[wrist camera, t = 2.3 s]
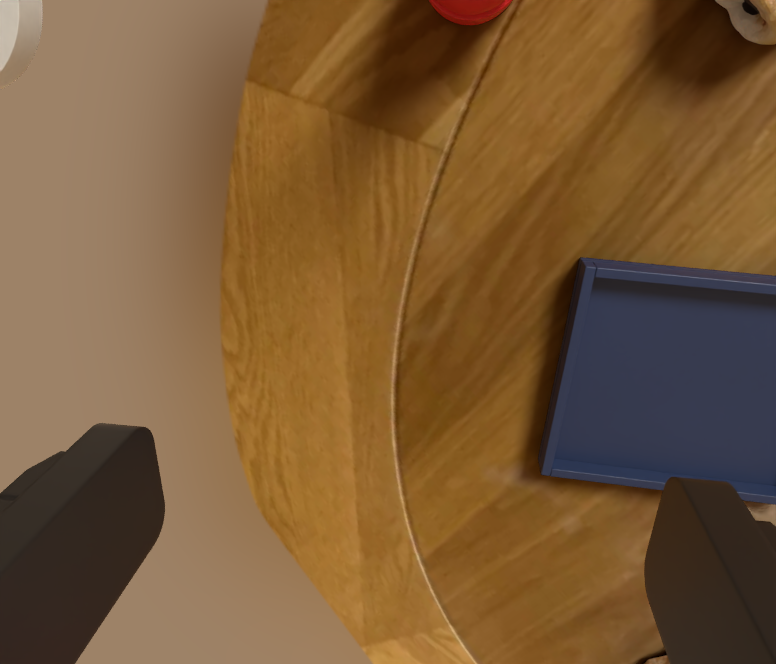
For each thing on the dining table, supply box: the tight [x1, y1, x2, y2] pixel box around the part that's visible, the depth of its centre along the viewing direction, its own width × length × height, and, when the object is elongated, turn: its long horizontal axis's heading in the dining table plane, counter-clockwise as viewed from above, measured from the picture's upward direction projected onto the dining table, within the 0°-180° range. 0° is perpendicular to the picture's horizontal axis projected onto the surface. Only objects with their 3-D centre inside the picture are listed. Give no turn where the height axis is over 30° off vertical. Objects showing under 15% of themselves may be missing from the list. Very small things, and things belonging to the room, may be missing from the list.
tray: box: [538, 257, 776, 505], centre depth 35 cm, size 16×14×2 cm
